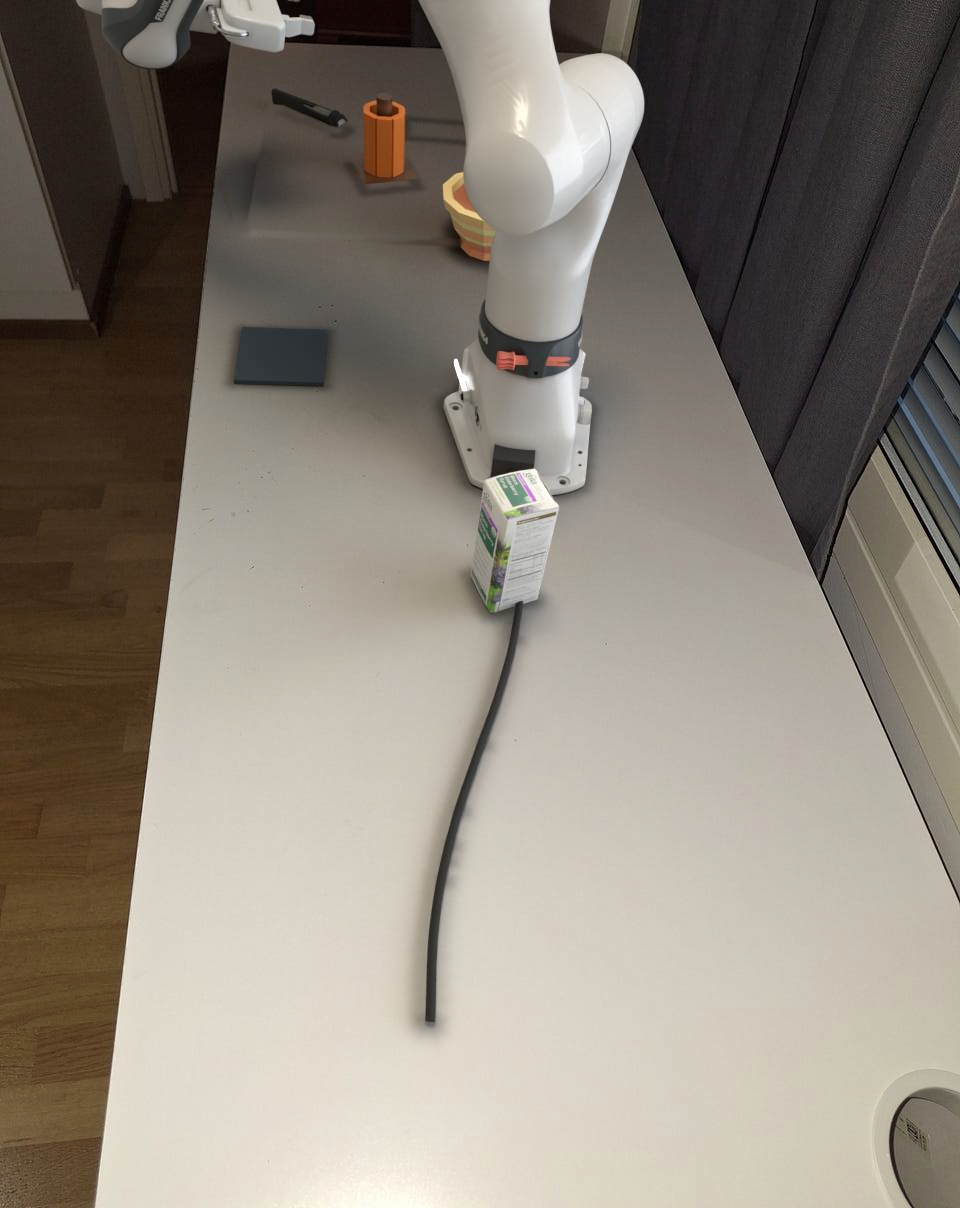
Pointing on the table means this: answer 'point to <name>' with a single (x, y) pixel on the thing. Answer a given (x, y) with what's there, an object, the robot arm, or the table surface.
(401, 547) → the table surface
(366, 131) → the orange faceted tube
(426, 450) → the table surface
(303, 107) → the electric trimmer
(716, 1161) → the table surface
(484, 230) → the potted cactus
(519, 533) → the syrup box
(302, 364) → the mat
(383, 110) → the post
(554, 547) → the table surface
